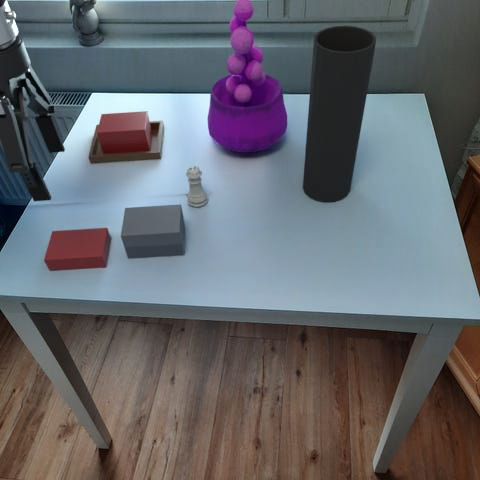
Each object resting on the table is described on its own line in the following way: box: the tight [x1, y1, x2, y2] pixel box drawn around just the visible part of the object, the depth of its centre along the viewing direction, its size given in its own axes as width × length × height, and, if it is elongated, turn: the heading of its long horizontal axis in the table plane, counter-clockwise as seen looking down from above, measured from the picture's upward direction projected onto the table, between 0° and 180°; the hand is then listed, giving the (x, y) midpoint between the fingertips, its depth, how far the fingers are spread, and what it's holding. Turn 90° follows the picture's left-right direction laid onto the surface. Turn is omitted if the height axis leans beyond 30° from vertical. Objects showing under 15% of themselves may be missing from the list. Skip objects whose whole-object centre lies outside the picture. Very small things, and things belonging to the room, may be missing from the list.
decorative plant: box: [207, 0, 288, 153], centre depth 102 cm, size 19×18×30 cm
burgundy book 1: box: [43, 227, 112, 272], centre depth 92 cm, size 11×8×3 cm
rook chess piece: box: [185, 165, 209, 208], centre depth 98 cm, size 4×4×8 cm
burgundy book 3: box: [101, 125, 152, 154], centre depth 113 cm, size 11×8×3 cm
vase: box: [302, 25, 377, 203], centre depth 90 cm, size 10×10×30 cm
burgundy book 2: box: [97, 110, 151, 144], centre depth 110 cm, size 11×8×3 cm
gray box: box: [120, 203, 186, 260], centre depth 92 cm, size 11×8×6 cm
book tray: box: [87, 120, 165, 165], centre depth 114 cm, size 17×14×3 cm
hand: (50, 174), depth 81 cm, fingers open, 13 cm apart
